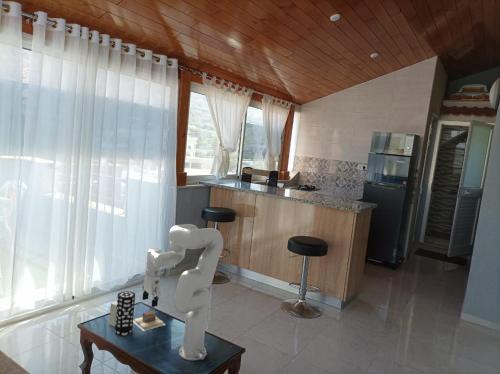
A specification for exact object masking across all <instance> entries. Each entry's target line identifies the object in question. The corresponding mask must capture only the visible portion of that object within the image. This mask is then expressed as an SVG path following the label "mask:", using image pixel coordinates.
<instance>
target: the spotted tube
mask: <svg viewBox="0 0 500 374" xmlns="http://www.w3.org/2000/svg"><path fill="white" fill-rule="evenodd" d="M116 299H117V300H116V301H117V310H116V322H115V327H114V335H115V336H118V337H127V336H130V335H131V334H132V333H133V326H134V323H133V321H134V317H135V316H134V314H135V305H136V304H135V302H136V293H135V292H134V291H127V290H125V291H121V292H119V293H117V298H116Z"/></svg>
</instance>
